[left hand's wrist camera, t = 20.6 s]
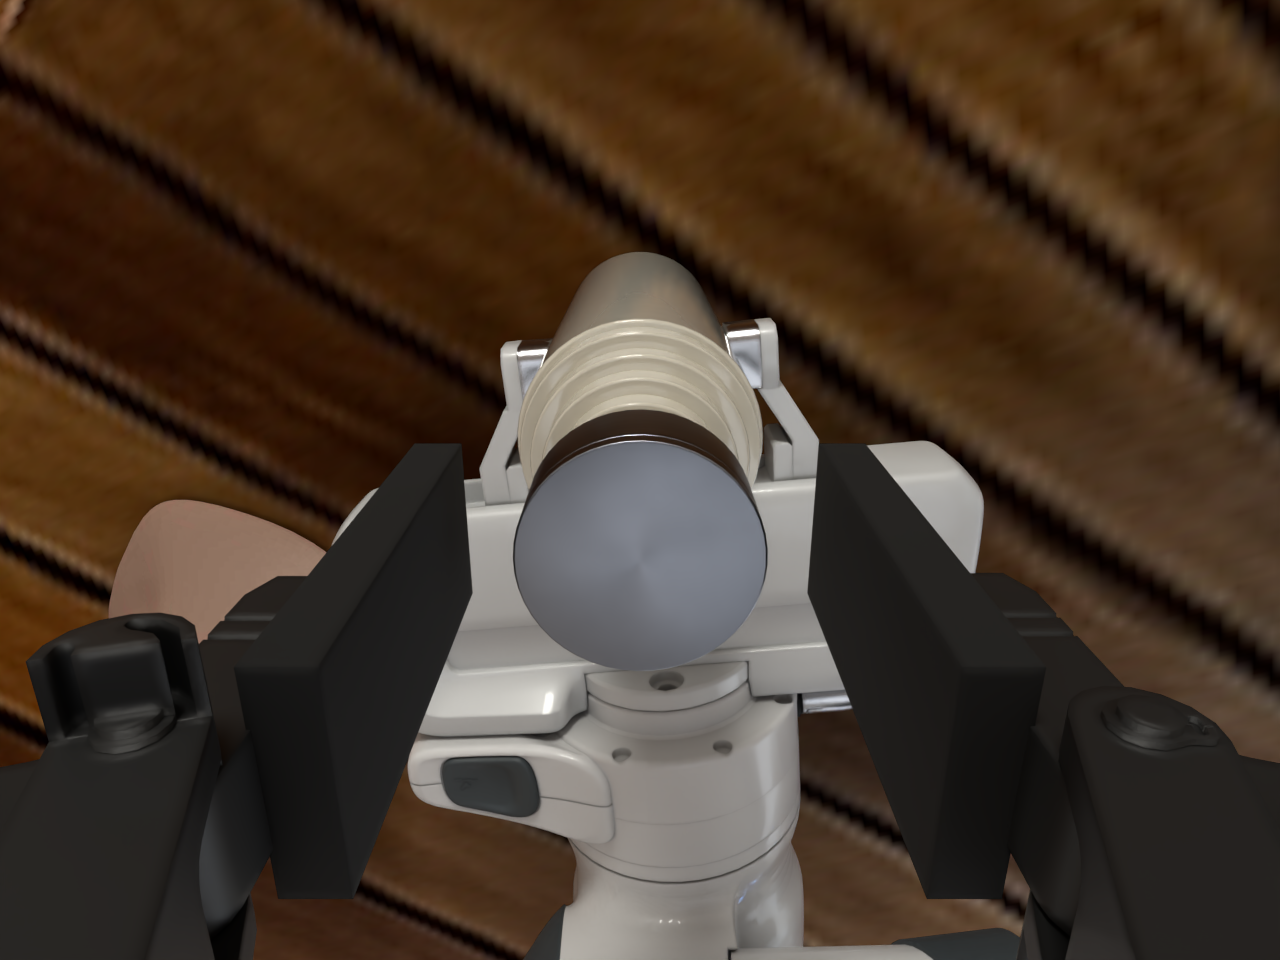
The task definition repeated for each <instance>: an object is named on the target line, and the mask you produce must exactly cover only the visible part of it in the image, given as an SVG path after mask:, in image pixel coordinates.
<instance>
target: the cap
mask: <svg viewBox="0 0 1280 960" xmlns="http://www.w3.org/2000/svg"><path fill="white" fill-rule="evenodd" d="M767 565H768V547H767V539H766V533H765V529H764V526H763V522H762V519H761V516H760V513H759V510H758V507H757V504H756V501H755V499H754V496H753V493H752V490H751V487H750V484H749V481H748V479H747V477H746V474H745V472H744V470H743V468H742V466H741V465H740V463H739V461H738V460H737V458H736V457H735V455H734V454H733V453H732V452H731V450H730V449H729V448H728V447H727V446H726V445H725V444H724V443H723V442H722V441H721V440H720V439H719V438H718V437H717V436H716V435H714V434H713V433H711V432H710V431H709V430H707V429H706V428H704V427H703V426H701V425H699V424H697V423H695V422H693V421H691V420H689V419H687V418H684V417H681V416H678V415H676V414H672V413H667V412H663V411H657V410H646V409H638V410H624V411H618V412H612V413H609V414H606V415H602V416H599V417H596V418H594V419H592V420H590V421H587V422H585V423H583V424H581V425H580V426H578V427H577V428H575V429H573V430H572V431H570V432H569V433H568V434H567V435H565V436H564V437H563V438H562V439H560V440H559V441H558V442H557V443H556V444H555V446H554V447H553V448H552V449H551V450H550V451H549V452H548V454H547V455H546V456H545V458H544V459H543V461H542V462H541V464H540V465H539V467H538V469H537V471H536V473H535V475H534V478H533V481H532V484H531V486H530V489H529V492H528V495H527V498H526V501H525V504H524V507H523V510H522V513H521V516H520V519H519V522H518V524H517V527H516V532H515V537H514V543H513V566H514V574H515V578H516V582H517V586H518V589H519V592H520V594H521V597H522V599H523V602H524V604H525V605H526V607H527V609H528V611H529V612H530V614H531V616H532V617H533V618H534V619H535V621H536V622H537V623H538V625H539V626H540V627H541V628H542V629H543V630H544V631H545V632H546V633H547V634H548V635H549V636H550V637H551V638H552V639H553V640H554V641H555V642H557V643H558V644H559V645H561V646H562V647H563V648H565V649H566V650H568V651H570V652H571V653H573V654H575V655H576V656H578V657H581V658H583V659H585V660H587V661H590V662H592V663H595V664H598V665H602V666H605V667H609V668H614V669H619V670H629V671H654V670H661V669H667V668H672V667H675V666H679V665H683V664H686V663H688V662H691V661H693V660H696V659H698V658H700V657H702V656H704V655H706V654H708V653H709V652H711V651H713V650H714V649H716V648H717V647H719V646H720V645H721V644H723V643H724V642H725V641H727V640H728V639H729V638H730V637H731V636H732V635H733V634H734V633H735V632H736V631H737V630H738V629H739V628H740V627H741V625H742V624H743V623H744V622H745V621H746V619H747V618H748V616H749V615H750V613H751V612H752V610H753V608H754V607H755V605H756V603H757V600H758V598H759V596H760V594H761V591H762V588H763V585H764V581H765V577H766V571H767Z"/></svg>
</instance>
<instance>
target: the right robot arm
mask: <svg viewBox="0 0 1280 960" xmlns="http://www.w3.org/2000/svg"><path fill="white" fill-rule="evenodd" d="M722 329H723V331H724V333H725V335H726V337H727V339H728V341H729V343H730V345H731V347H732V349H733V351H734V353H735V355H736V357H737V359H738V361H739V363H740V365H741V367H742V369H743V371H744V373H745V375H746V377H747V379H748V381H749V383H750V385H751V387H752V389H753V388H757V389H758V391H759V392H760V394H761V395H762V397H763V398H764V400H765V401H766V403H767V404H768V406H769V407H770V409H771V410H772V412H773V413H774V415H775V416H776V418H777V419H778V421H779V422H780V424H781V425H782V426H780V425H779V424H778V423H775V424H767V425H766V426H765V427H764V454H762V455H761V458H760V463H759V467H758V471H757V476H756V479H755V482H754V485H753V487H752V493H753V496H754V499H755V501H756V504H757V507H758V510H759V513H760V516H761V519H762V522H763V526H764V529H765V533H766V539H767V547H768V565H767V571H766V577H765V581H764V585H763V588H762V591H761V594H760V596H759V598H758V600H757V603H756V605H755V607H754V608H753V610H752V612H751V613H750V615H749V616H748V618H747V619H746V621H745V622H744V623H743V624H742V625H741V627H740V628H739V629H738V630H737V631H736V632H735V633H734V634H733V635H732V636H731V637H730V638H729V639H728V640H727V641H725V642H724V643H723V644H721V645H720V646H719V647H717V648H716V649H714V650H713V651H711V652H709V653H708V654H706V655H704V656H702V657H700V658H698V659H696V660H693V661H691V662H688V663H686V664H683V665H679V666H675V667H672V668H667V669H661V670H654V671H629V670H619V669H614V668H609V667H605V666H602V665H598V664H595V663H592V662H590V661H587V660H585V659H583V658H581V657H578V656H576V655H575V654H573V653H571V652H570V651H568V650H566V649H565V648H563V647H562V646H561V645H559V644H558V643H557V642H555V641H554V640H553V639H552V638H551V637H550V636H549V635H548V634H547V633H546V632H545V631H544V630H543V629H542V628H541V627H540V626H539V625H538V623H537V622H536V621H535V619H534V618H533V617H532V616H531V614H530V612H529V611H528V609H527V607H526V605H525V604H524V602H523V599H522V597H521V594H520V592H519V589H518V586H517V582H516V578H515V574H514V566H513V543H514V537H515V532H516V527H517V524H518V522H519V519H520V516H521V513H522V510H523V507H524V504H525V501H526V498H527V495H528V492H529V489H528V487H527V484H526V481H525V477H524V474H523V470H522V465H521V462H520V456H519V450H518V447H517V448H516V449H515V443H516V440H517V438H518V432H517V431H518V422H519V415H520V411H521V407H522V403H523V399H524V397H525V395H526V392H527V390H528V387H529V385H530V383H531V381H532V379H533V377H534V375H535V373H536V371H537V369H538V367H539V365H540V363H541V361H542V359H543V357H544V355H545V353H546V351H547V349H548V347H549V345H550V343H551V341H552V339H553V338H549V339H536V340H519V341H511V342H506V343H505V344H504V345H503V347H502V348H501V370H502V376H503V383H504V390H505V396H506V403H507V406H506V408H505V409H504V411H503V414H502V416H501V418H500V421H499V423H498V425H497V428H496V430H495V433H494V435H493V437H492V440H491V442H490V445H489V447H488V449H487V452H486V454H485V457H484V459H483V461H482V464H481V466H480V468H479V469H480V475H481V479H470V480H464V486H465V499H466V512H467V525H468V538H469V551H470V564H471V577H472V590H473V594H472V596H471V599H470V601H469V604H468V606H467V609H466V612H465V614H464V617H463V619H462V622H461V624H460V627H459V629H458V632H457V635H456V637H455V640H454V642H453V645H452V647H451V650H450V652H449V655H448V658H447V660H446V663H445V665H444V668H443V670H442V673H441V675H440V678H439V681H438V683H437V686H436V688H435V691H434V693H433V696H432V698H431V701H430V704H429V706H428V709H427V711H426V714H425V716H424V719H423V721H422V724H421V727H420V729H419V732H418V734H417V737H416V739H415V742H414V744H413V747H412V750H411V752H410V755H409V760H408V775H409V781H410V784H411V787H412V790H413V792H414V793H415V795H416V796H417V797H418V798H419V799H421V800H422V801H424V802H426V803H428V804H431V805H434V806H437V807H442V808H447V809H452V810H458V811H464V812H470V813H475V814H480V815H485V816H490V817H495V818H500V819H504V820H509V821H513V822H517V823H521V824H525V825H529V826H533V827H536V828H540V829H543V830H547V831H550V832H553V833H556V834H559V835H562V836H564V837H567V838H568V840H569V842H570V844H571V846H572V848H573V851H574V853H575V857H576V863H577V866H576V870H575V875H574V882H573V903H572V904H571V905H569V906H566V905H565V904H564V905H563V906H562V907H561V908H560V909H559V910H558V911H557V912H556V913H555V914H554V915H553V916H552V918H551V919H550V920H549V921H548V923H547V924H546V925H545V927H544V928H543V930H542V931H541V933H540V934H539V936H538V937H537V939H536V940H535V942H534V944H533V945H532V947H531V948H530V950H529V951H528V953H527V954H526V956H525V958H524V959H523V960H1016V956H1017V951H1018V947H1019V942H1020V937H1018V936H1017V935H1015V934H1014V933H1012V932H1010V931H1008V930H1006V929H1003V928H991V929H983V930H975V931H967V932H958V933H950V934H942V935H934V936H925V937H917V938H909V939H900V940H897V941H895V942H893V943H892V944H891V945H865V946H818V947H803V938H804V895H803V882H802V873H801V869H800V865H799V861H798V858H797V856H796V853H795V851H794V848H793V846H792V844H791V840H792V837H793V834H794V831H795V828H796V825H797V821H798V817H799V809H800V765H799V736H798V719H797V717H800V714H807V713H808V714H809V713H822V712H835V711H844V710H851V709H852V706H851V704H850V701H849V698H848V696H847V693H846V691H845V688H844V686H843V683H842V681H841V678H840V675H839V673H838V670H837V668H836V665H835V663H834V660H833V658H832V655H831V652H830V650H829V647H828V645H827V642H826V640H825V637H824V635H823V632H822V629H821V627H820V624H819V622H818V619H817V617H816V614H815V612H814V609H813V606H812V604H811V601H810V599H809V596H808V594H807V590H808V577H809V564H810V551H811V538H812V525H813V512H814V499H815V485H816V472H817V459H818V446H819V439H818V438H817V436H816V435H815V433H814V432H813V430H812V429H811V427H810V425H809V424H808V422H807V421H806V419H805V418H804V416H803V415H802V413H801V412H800V410H799V409H798V407H797V405H796V404H795V402H794V401H793V399H792V398H791V396H790V395H789V393H788V392H787V390H786V389H785V387H784V386H783V384H782V383H781V381H780V380H779V355H778V335H777V329H776V325H775V323H774V322H773V321H772V319H771V318H764V319H752V320H743V321H733V322H724V323H723V325H722ZM867 446H868V448H869V449H870V450H871V451H872V453H873V454H874V455H875V456H876V457H877V459H878V460H879V461H880V462H881V464H882V465H883V466H884V467H885V469H886V470H887V471H888V472H889V474H890V475H891V476H892V477H893V478H894V480H895V481H896V482H897V483H898V485H899V486H900V487H901V488H902V490H903V491H904V492H905V493H906V495H907V496H908V497H909V498H910V499H911V501H912V502H913V503H914V504H915V506H916V507H917V508H918V509H919V511H920V512H921V513H922V514H923V515H924V517H925V518H926V519H927V520H928V522H929V523H930V524H931V525H932V527H933V528H934V529H935V530H936V532H937V533H938V534H939V535H940V536H941V538H942V539H943V540H944V541H945V543H946V544H947V545H948V546H949V548H950V549H951V550H952V551H953V553H954V554H955V555H956V556H957V557H958V559H959V560H960V561H961V562H962V564H963V565H964V566H965V567H966V569H967V570H968V571H969V572H970V573H975V571H976V566H977V560H978V554H979V547H980V540H981V532H982V524H983V513H984V501H983V496H982V493H981V491H980V489H979V487H978V485H977V484H976V482H975V481H974V480H973V478H972V477H971V476H970V475H969V474H968V472H967V471H966V470H965V469H964V468H963V467H962V466H961V465H960V464H959V463H958V462H957V461H956V460H955V459H953V458H952V457H951V456H950V455H948V454H947V453H946V452H945V451H944V450H942V449H941V448H940V447H938V446H937V445H935V444H934V443H932V442H928V441H913V442H902V443H890V444H879V445H867ZM377 490H378V488H377V489H374V490H373V491H371V492H370V493H368V494H367V495H366V496H365V497H364V498H363V500H362V501H361V502H360V503H359V504H358V505H357V506H356V507H355V508H354V509H353V511H352V512H351V513H350V514H349V516H348V517H347V518H346V520H345V521H344V523H343V524H342V526H341V527H340V529H339V531H338V533H337V534H336V536H335V538H334V540H333V543H332V545H333V544H334V543H335V541H336V540H337V539H338V538H339V536H340V535H341V534H342V533H343V532H344V530H345V529H346V528H347V527H348V525H349V524H350V523H351V522H352V520H353V519H354V518H355V517H356V515H357V514H358V513H359V512H360V511H361V509H362V508H363V507H364V506H365V504H366V503H367V502H368V501H369V499H370V498H371V497H372V496H373V494H374V493H375V492H376V491H377Z"/></svg>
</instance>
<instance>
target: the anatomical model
mask: <svg viewBox="0 0 1280 960" xmlns="http://www.w3.org/2000/svg"><path fill="white" fill-rule="evenodd" d="M325 554H326V551H324V550H323V549H321V548H320V547H318V546H317V545H315V544H314V543H312V542H310V541H309V540H307V539H305V538H303V537H301V536H300V535H298V534H296V533H294V532H292V531H290V530H288V529H285V528H283V527H281V526H279V525H276V524H274V523H272V522H269V521H266V520H263V519H260V518H258V517H255V516H252V515H249V514H246V513H243V512H240V511H236V510H233V509H229V508H226V507H222V506H219V505H214V504H209V503H205V502H200V501H192V500H171V501H166V502H163V503H160V504H158V505H156V506H155V507H154V508H152V509H151V510H150V511H149V512H148V513H147V514H146V515H145V516H144V517H143V519H142V520H141V522H140V524H139V525H138V527H137V528H136V530H135V531H134V533H133V536H132V538H131V540H130V542H129V544H128V547H127V549H126V551H125V553H124V555H123V558H122V560H121V562H120V565H119V567H118V570H117V573H116V577H115V580H114V585H113V589H112V594H111V599H110V604H109V618H113V617H118V616H123V615H128V614H138V613H166V614H172V615H177V616H182V617H184V618H185V619H187V620H188V621H190V622H191V623H192V624H194V625H195V628H196V633H197V638H198V643H199V644H200V642H201V641H202V640H207V638H208V634H209V633H210V632H211V631H212V629H213V628H214V627H215V626H216V625H217V624H218V623H219V622H220V621H224V619H225V618H224V616H225V615H226V614H227V613H228V612H229V611H230V610H231V609H232V608H233V607H234V606H235V605H236V603H237V602H238V601H239V600H240V599H241V598H242V597H243V596H244V595H245V594H247V593H248V592H250V591H252V590H254V589H255V588H257V587H259V586H261V585H262V584H264V583H266V582H268V581H270V580H271V579H273V578H275V577H277V576H308V575H309V573H310V572H311V571H312V570H313V569H314V567H315V566H316V565H317V564H318V562H319V561H320V560H321V559H322V557H323V556H324V555H325Z"/></svg>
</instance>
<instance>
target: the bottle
mask: <svg viewBox="0 0 1280 960" xmlns="http://www.w3.org/2000/svg"><path fill="white" fill-rule="evenodd" d="M638 409H646V410H657V411H663V412H667V413H672V414H676V415H678V416H681V417H684V418H687V419H689V420H691V421H693V422H695V423H697V424H699V425H701V426H703V427H704V428H706V429H707V430H709V431H710V432H711V433H713V434H714V435H716V436H717V437H718V438H719V439H720V440H721V441H722V442H723V443H724V444H725V445H726V446H727V447H728V448H729V449H730V450H731V452H732V453H733V454H734V455H735V457H736V458H737V460H738V461H739V463H740V465H741V466H742V468H743V470H744V472H745V474H746V477H747V479H748V481H749V484H750V487H751V490H752V487H753V485H754V482H755V479H756V476H757V471H758V467H759V463H760V458H761V454H762V444H763V428H762V418H761V413H760V408H759V404H758V402H757V399H756V396H755V393H754V391H753V389H752V387H751V385H750V383H749V381H748V379H747V377H746V375H745V373H744V371H743V369H742V367H741V365H740V363H739V361H738V359H737V357H736V355H735V353H734V351H733V349H732V347H731V345H730V343H729V341H728V339H727V337H726V335H725V333H724V331H723V329H722V327H721V325H720V323H719V321H718V319H717V317H716V315H715V313H714V311H713V309H712V307H711V305H710V303H709V301H708V299H707V297H706V296H705V294H704V292H703V290H702V288H701V286H700V284H699V283H698V282H697V280H696V279H695V278H694V276H693V275H692V274H691V273H690V272H689V271H688V270H687V269H685V268H684V267H683V266H682V265H680V264H679V263H677V262H675V261H674V260H672V259H669V258H667V257H665V256H662V255H658V254H654V253H648V252H633V253H626V254H622V255H618V256H616V257H613V258H611V259H608V260H607V261H605V262H603V263H601V264H600V265H599V266H597V267H596V268H595V269H594V270H592V271H591V272H590V273H589V274H588V275H587V277H586V278H585V279H584V281H583V282H582V283H581V285H580V286H579V288H578V290H577V292H576V294H575V296H574V298H573V300H572V302H571V304H570V306H569V308H568V310H567V312H566V314H565V316H564V318H563V319H562V321H561V323H560V325H559V327H558V329H557V331H556V333H555V335H554V337H553V339H552V341H551V343H550V345H549V347H548V349H547V351H546V353H545V355H544V357H543V359H542V361H541V363H540V365H539V367H538V369H537V371H536V373H535V375H534V377H533V379H532V381H531V383H530V385H529V387H528V390H527V392H526V395H525V397H524V399H523V403H522V407H521V411H520V415H519V422H518V431H517V432H518V450H519V456H520V462H521V465H522V470H523V474H524V477H525V481H526V484H527V487H528V489H530V486H531V484H532V481H533V478H534V475H535V473H536V471H537V469H538V467H539V465H540V464H541V462H542V461H543V459H544V458H545V456H546V455H547V454H548V452H549V451H550V450H551V449H552V448H553V447H554V446H555V444H556V443H557V442H558V441H559V440H560V439H562V438H563V437H564V436H565V435H567V434H568V433H569V432H570V431H572V430H573V429H575V428H577V427H578V426H580V425H581V424H583V423H585V422H587V421H590V420H592V419H594V418H596V417H599V416H602V415H606V414H609V413H612V412H618V411H624V410H638Z"/></svg>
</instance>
